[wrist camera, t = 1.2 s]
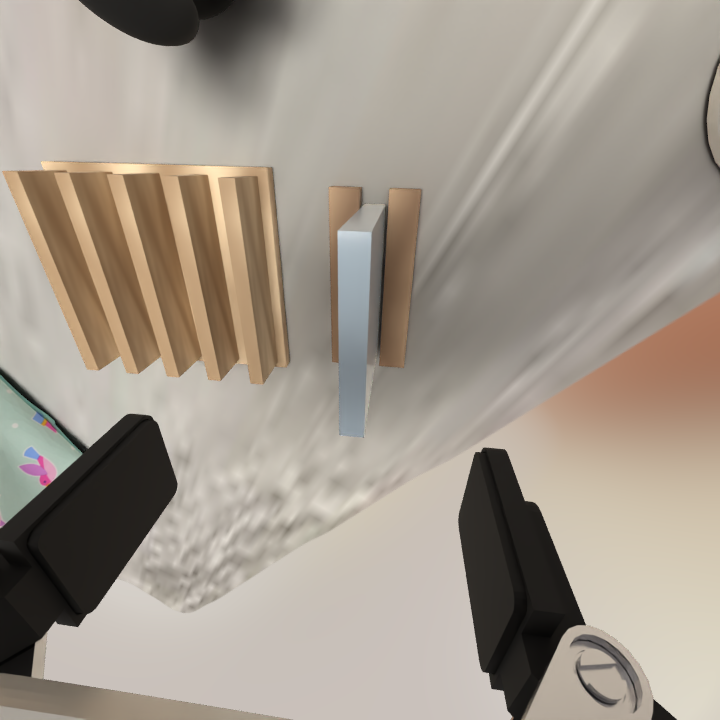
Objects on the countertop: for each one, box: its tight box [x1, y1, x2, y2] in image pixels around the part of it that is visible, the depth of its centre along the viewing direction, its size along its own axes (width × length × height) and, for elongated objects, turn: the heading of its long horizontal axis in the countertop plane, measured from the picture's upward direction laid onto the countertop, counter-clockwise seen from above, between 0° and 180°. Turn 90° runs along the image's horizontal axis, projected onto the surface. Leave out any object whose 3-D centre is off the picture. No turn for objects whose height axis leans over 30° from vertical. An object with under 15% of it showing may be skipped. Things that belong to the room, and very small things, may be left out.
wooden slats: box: [329, 186, 421, 368], centre depth 26 cm, size 6×13×1 cm, turn 178°
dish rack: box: [2, 161, 290, 384], centre depth 26 cm, size 16×15×4 cm
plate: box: [338, 204, 386, 438], centre depth 22 cm, size 1×11×11 cm, turn 178°
